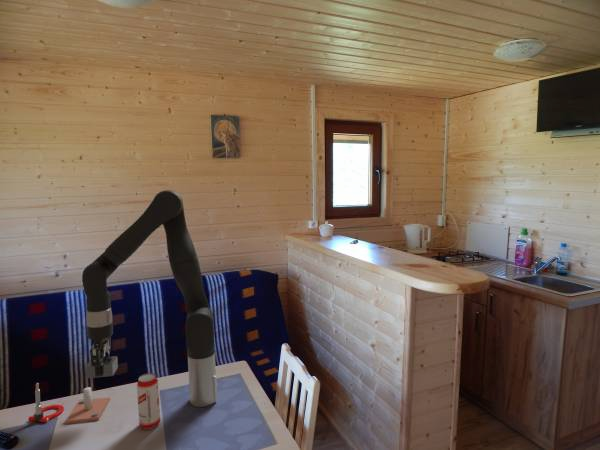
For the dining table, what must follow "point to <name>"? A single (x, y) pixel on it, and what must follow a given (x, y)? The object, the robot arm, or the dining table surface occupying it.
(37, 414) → the tow hook
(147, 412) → the beer can
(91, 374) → the grey hollow block
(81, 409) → the keeper plate
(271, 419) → the dining table surface
